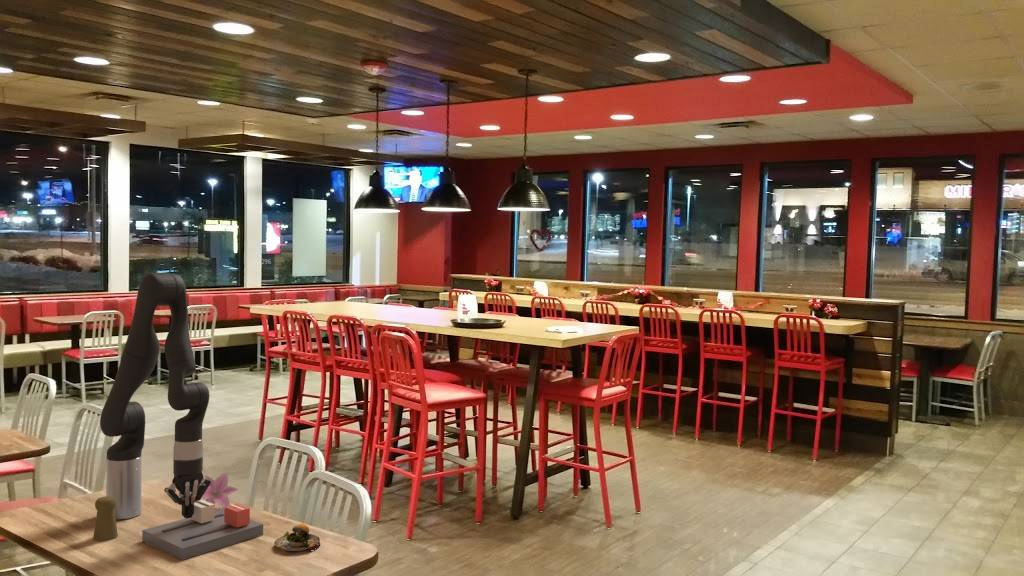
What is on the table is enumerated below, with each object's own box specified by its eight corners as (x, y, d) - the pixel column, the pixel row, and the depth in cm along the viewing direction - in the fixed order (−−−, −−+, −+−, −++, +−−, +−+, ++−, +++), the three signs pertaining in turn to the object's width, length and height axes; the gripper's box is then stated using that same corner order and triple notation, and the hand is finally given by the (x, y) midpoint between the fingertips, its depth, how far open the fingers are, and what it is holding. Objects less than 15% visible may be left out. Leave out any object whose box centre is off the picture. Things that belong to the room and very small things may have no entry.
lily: (186, 511, 241) (189, 488, 236) (206, 486, 251) (209, 464, 247) (223, 525, 240) (226, 502, 236) (241, 499, 251) (245, 477, 246)
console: (142, 541, 213) (142, 529, 213) (222, 518, 232) (222, 507, 232) (182, 560, 201) (182, 547, 201) (263, 534, 220) (263, 523, 220)
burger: (266, 546, 212) (266, 519, 212) (304, 536, 221) (304, 509, 220) (290, 559, 204) (290, 531, 204) (329, 547, 213) (329, 520, 212)
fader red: (224, 522, 219) (224, 506, 219) (237, 519, 222) (237, 502, 222) (236, 527, 216) (237, 511, 215) (249, 523, 219) (249, 507, 219)
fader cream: (189, 518, 222) (189, 502, 221) (202, 515, 225) (202, 499, 225) (201, 523, 218) (201, 507, 218) (214, 519, 221) (214, 503, 221)
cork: (107, 542, 212) (107, 501, 211) (87, 540, 213) (88, 499, 212) (122, 534, 218) (123, 495, 217) (103, 532, 219) (103, 493, 218)
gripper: (203, 448, 225) (202, 508, 226) (158, 457, 214) (157, 520, 215) (217, 453, 220) (216, 514, 221) (172, 462, 210) (171, 526, 211)
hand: (187, 517), depth 218 cm, fingers closed
